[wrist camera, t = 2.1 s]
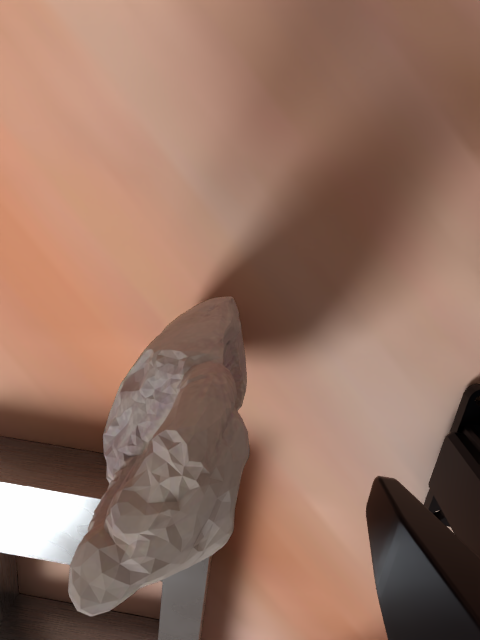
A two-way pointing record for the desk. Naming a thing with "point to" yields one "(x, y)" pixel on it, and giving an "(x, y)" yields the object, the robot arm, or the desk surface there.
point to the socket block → (73, 550)
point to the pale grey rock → (168, 460)
